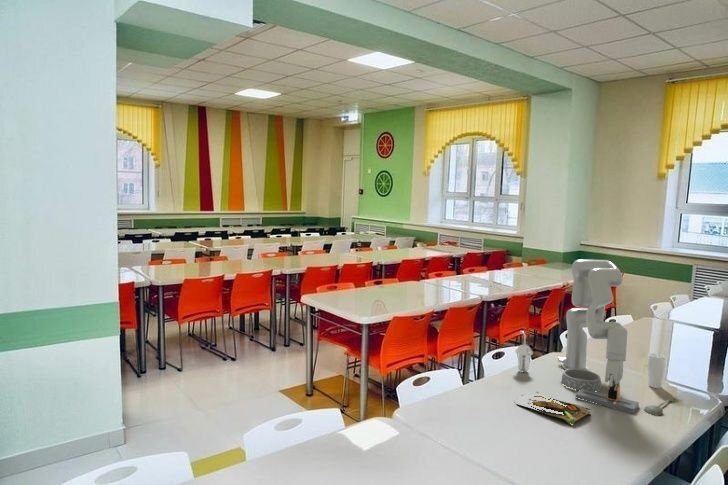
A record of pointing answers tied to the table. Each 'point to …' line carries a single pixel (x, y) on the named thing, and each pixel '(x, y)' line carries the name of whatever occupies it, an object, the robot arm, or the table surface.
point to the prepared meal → (563, 410)
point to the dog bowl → (581, 379)
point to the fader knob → (617, 392)
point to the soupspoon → (655, 409)
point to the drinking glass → (655, 370)
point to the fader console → (608, 400)
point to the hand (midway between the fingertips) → (613, 397)
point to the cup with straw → (524, 356)
